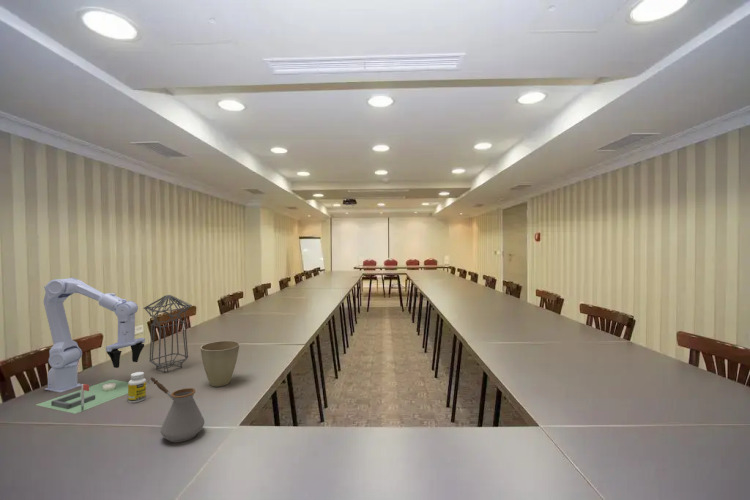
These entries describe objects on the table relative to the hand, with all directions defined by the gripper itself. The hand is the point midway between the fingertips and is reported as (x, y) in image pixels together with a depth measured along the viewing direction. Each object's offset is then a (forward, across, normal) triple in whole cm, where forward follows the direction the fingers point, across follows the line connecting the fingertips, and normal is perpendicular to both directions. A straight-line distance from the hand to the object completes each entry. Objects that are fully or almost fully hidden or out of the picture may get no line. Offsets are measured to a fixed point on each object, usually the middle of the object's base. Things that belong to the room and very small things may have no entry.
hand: (125, 364), depth 141 cm
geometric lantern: (+9, +20, +1) cm, 22 cm away
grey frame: (+8, -18, -4) cm, 20 cm away
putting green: (+8, -11, +1) cm, 14 cm away
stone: (+8, -6, +1) cm, 10 cm away
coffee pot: (+9, -21, -50) cm, 55 cm away
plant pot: (+9, +14, -35) cm, 39 cm away
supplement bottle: (+9, -9, -18) cm, 22 cm away
